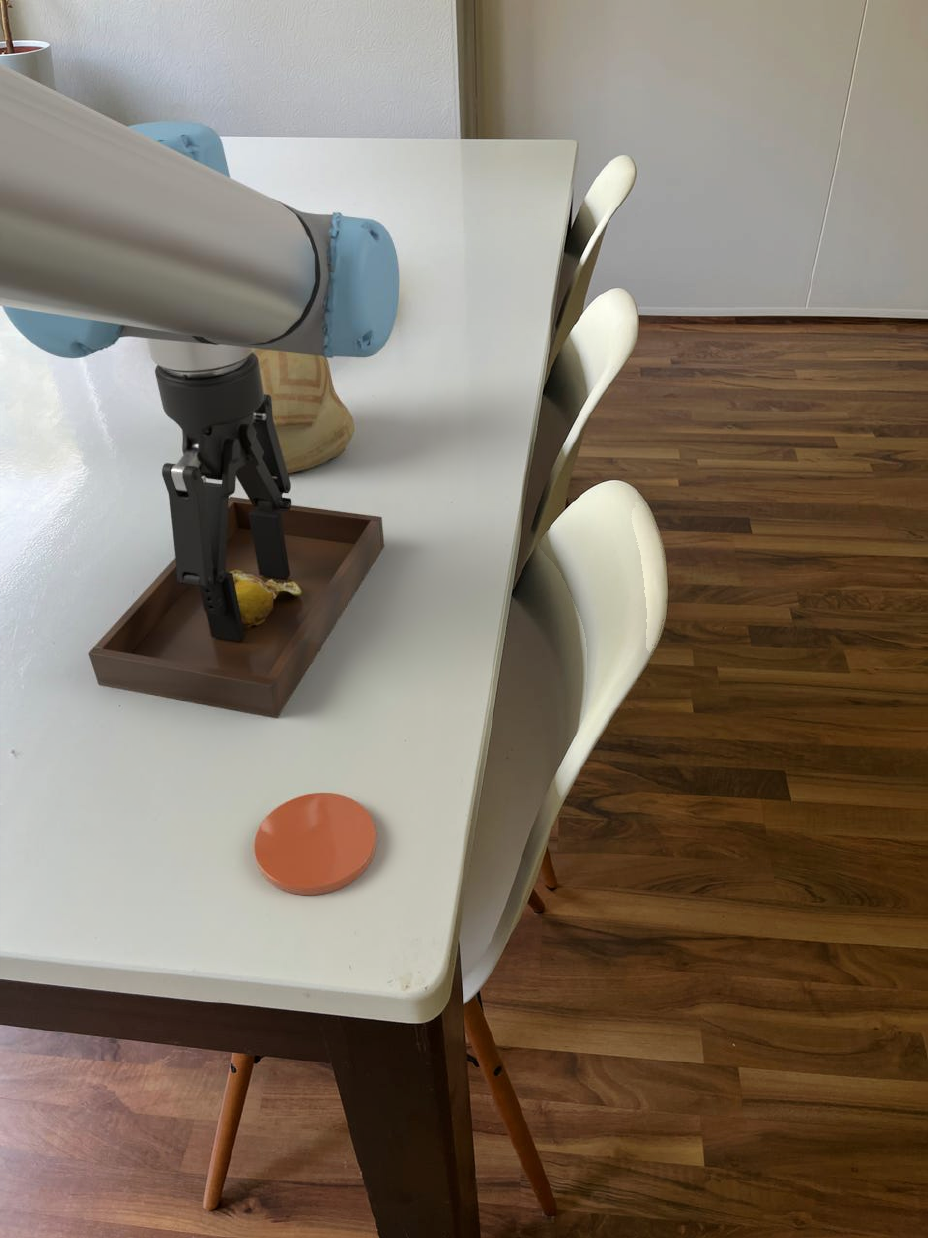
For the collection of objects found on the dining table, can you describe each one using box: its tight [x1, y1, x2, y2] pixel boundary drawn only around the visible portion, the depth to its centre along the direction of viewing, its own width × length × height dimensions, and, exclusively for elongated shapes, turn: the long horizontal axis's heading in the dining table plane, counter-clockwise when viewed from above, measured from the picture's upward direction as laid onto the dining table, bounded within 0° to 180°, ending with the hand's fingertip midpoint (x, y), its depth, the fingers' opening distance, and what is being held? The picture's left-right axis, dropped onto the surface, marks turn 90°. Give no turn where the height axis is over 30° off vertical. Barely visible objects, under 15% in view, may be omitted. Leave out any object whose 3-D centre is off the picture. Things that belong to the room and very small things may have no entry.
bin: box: [87, 496, 385, 719], centre depth 86 cm, size 25×16×3 cm, turn 164°
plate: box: [253, 792, 378, 896], centre depth 65 cm, size 8×8×1 cm
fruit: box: [204, 570, 302, 629], centre depth 85 cm, size 8×8×4 cm
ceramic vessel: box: [253, 348, 355, 474], centre depth 103 cm, size 17×20×25 cm
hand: (252, 604), depth 86 cm, fingers closed on bin, 9 cm apart
